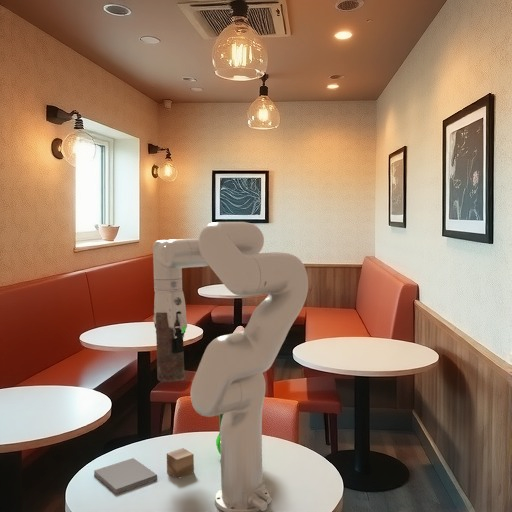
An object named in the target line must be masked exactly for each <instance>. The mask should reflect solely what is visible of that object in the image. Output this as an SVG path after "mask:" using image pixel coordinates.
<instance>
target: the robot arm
mask: <svg viewBox="0 0 512 512" xmlns="http://www.w3.org/2000/svg"><path fill="white" fill-rule="evenodd" d="M264 244H265V237H264V234H263V232H262V231H261V229H260V228H259V227H258V226H257V225H255V224H253V223H250V222H246V221H216V222H211V223H208V224H207V225H206V226H205V227H203V228H202V230H201V232H200V234H199V237H198V238H181V239H180V238H179V239H160V240H159V239H158V240H156V241H154V242H153V244H152V253H153V254H152V258H153V259H152V263H153V288H154V290H153V291H154V299H153V300H154V302H153V303H154V304H153V315H154V316H153V317H152V322H153V323H154V328H155V329H156V313H167V318H168V325H169V328H171V329H172V335H173V338H172V353H180V352H184V337H185V333H186V330H187V327H188V323H187V321H188V320H187V319H188V318H187V309H186V308H187V307H186V299H185V294H184V291H183V270H182V269H187V268H200V267H209V268H210V269H211V270H212V271H213V273H215V275H216V276H217V277H218V279H219V280H220V281H221V283H222V284H223V285H224V286H225V288H226V289H227V290H228V291H229V292H230V293H232V294H234V295H235V296H237V297H252V296H254V297H255V296H261V295H267V296H266V297H265V298H264V300H262V301H261V302H260V304H258V306H256V308H255V309H254V310H253V312H252V314H251V315H250V318H249V321H248V323H247V324H246V326H245V327H244V329H243V330H240V331H238V332H235V333H229V334H228V333H227V334H223V335H220V336H217V337H216V338H214V339H212V341H210V343H208V345H207V346H206V348H205V349H204V351H203V352H204V353H203V354H202V357H201V360H200V361H199V363H198V366H197V369H196V372H195V374H194V377H193V379H192V381H191V382H192V383H191V385H190V401H191V404H192V407H193V409H194V410H195V412H196V413H197V414H198V415H200V416H202V417H206V418H210V417H215V416H216V417H217V416H219V415H220V414H223V417H222V421H221V427H220V445H221V454H220V484H221V488H220V489H219V490H218V491H217V492H216V493H215V495H214V503H215V506H216V508H217V509H219V510H220V511H222V512H260V511H262V512H264V511H266V510H267V508H268V505H269V504H271V502H272V497H271V496H270V493H269V491H268V490H267V489H266V485H265V484H263V483H264V482H263V480H264V479H263V430H262V429H263V427H262V425H263V423H262V421H263V409H264V401H265V396H266V386H267V384H266V378H265V376H264V374H263V373H264V372H267V371H268V370H269V369H270V368H271V367H272V365H273V363H274V362H275V359H276V358H277V356H278V354H279V352H280V350H281V348H282V345H283V344H284V342H285V341H286V337H287V336H288V334H289V331H290V330H291V327H292V326H293V324H294V322H295V321H296V319H297V318H298V316H299V314H300V313H301V311H302V309H303V307H304V305H305V302H306V299H307V297H308V296H307V295H308V292H309V276H308V272H307V269H306V267H305V266H306V265H304V263H303V261H302V260H301V259H300V258H298V256H296V255H293V254H290V253H287V252H280V251H279V252H278V251H277V252H261V251H262V250H263V247H264ZM176 319H177V321H178V323H179V326H174V323H175V322H176ZM175 329H178V330H177V332H176V331H175Z"/></svg>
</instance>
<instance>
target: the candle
mask: <svg viewBox="0 0 512 512" xmlns="http://www.w3.org/2000/svg"><path fill="white" fill-rule="evenodd" d="M174 326H179V323H178V321H177V319H176V322H175V323H174ZM177 330H178V329H175V331H176V332H177ZM155 334H156V336H155V338H156V371H157V380H158V381H159V382H161V383H162V382H163V383H164V382H165V383H173V382H178V381H183V380H184V381H185V358H184V357H185V354H184V351H183V352H180V353H172V338H173V335H172V329H171V328H169V325H168V318H167V313H156V328H155Z"/></svg>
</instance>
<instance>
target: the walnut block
mask: <svg viewBox="0 0 512 512" xmlns="http://www.w3.org/2000/svg"><path fill="white" fill-rule="evenodd" d="M194 459H195V458H194V453H192V452H191V451H189V450H187V449H186V448H184V447H182V448H179V449H176V450H173V451H170V452H167V453H166V472H167V473H168V474H170V475H171V476H172V477H174V478H175V479H177V480H178V479H181V478H183V477H186V476H189V475H191V474H194V473H195V461H194Z"/></svg>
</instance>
